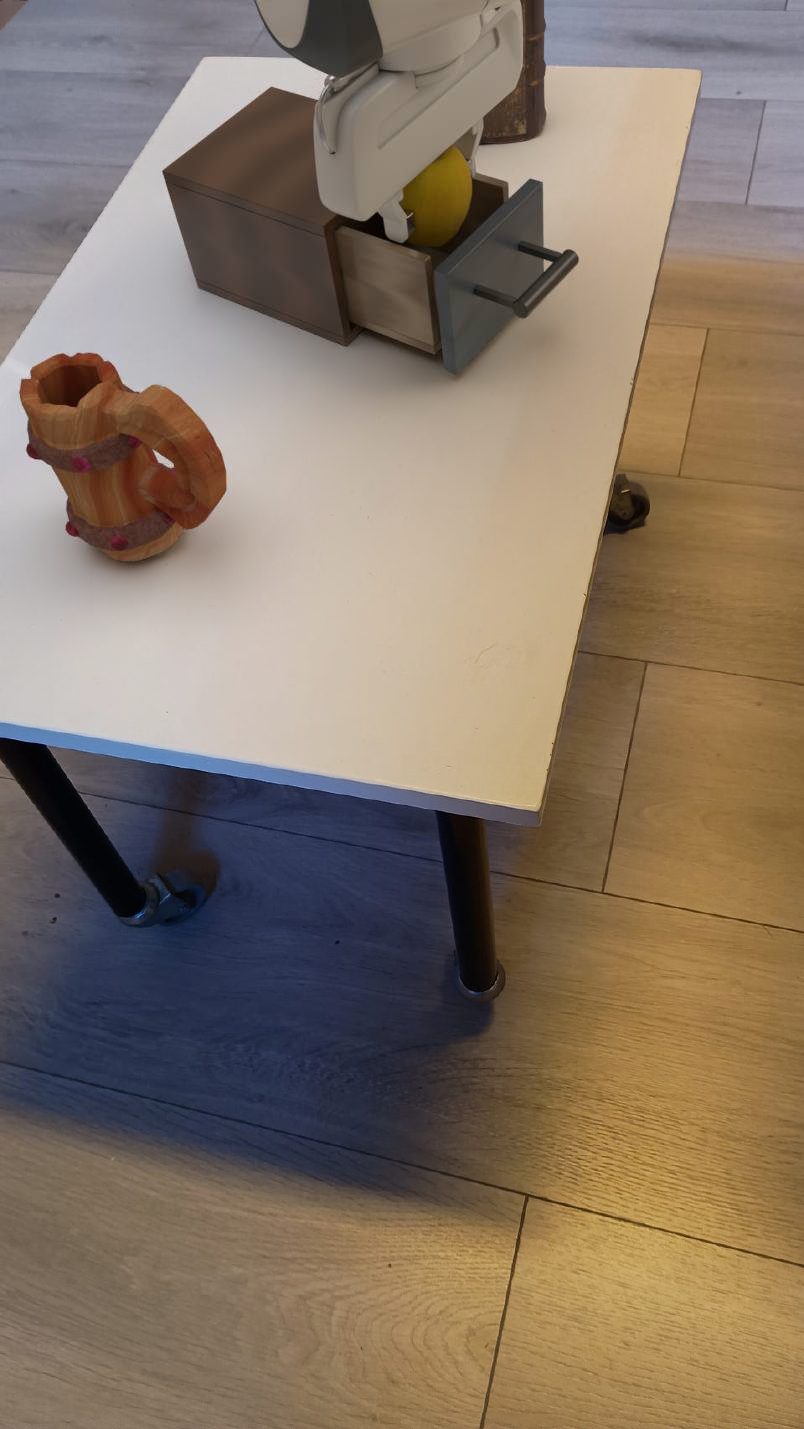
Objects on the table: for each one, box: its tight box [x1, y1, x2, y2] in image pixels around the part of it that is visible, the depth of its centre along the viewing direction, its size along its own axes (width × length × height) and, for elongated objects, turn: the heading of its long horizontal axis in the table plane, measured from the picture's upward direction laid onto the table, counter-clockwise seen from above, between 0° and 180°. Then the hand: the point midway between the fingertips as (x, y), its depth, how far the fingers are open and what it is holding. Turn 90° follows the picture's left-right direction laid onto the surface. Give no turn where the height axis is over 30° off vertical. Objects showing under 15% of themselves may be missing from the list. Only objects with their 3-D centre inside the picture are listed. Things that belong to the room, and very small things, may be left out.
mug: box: [18, 352, 228, 562], centre depth 75 cm, size 15×8×15 cm, turn 62°
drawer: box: [332, 172, 580, 375], centre depth 87 cm, size 20×13×9 cm, turn 54°
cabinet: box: [161, 86, 366, 347], centre depth 93 cm, size 17×14×11 cm
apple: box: [398, 145, 472, 248], centre depth 83 cm, size 6×6×8 cm
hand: (432, 207), depth 84 cm, fingers closed on apple, 6 cm apart
